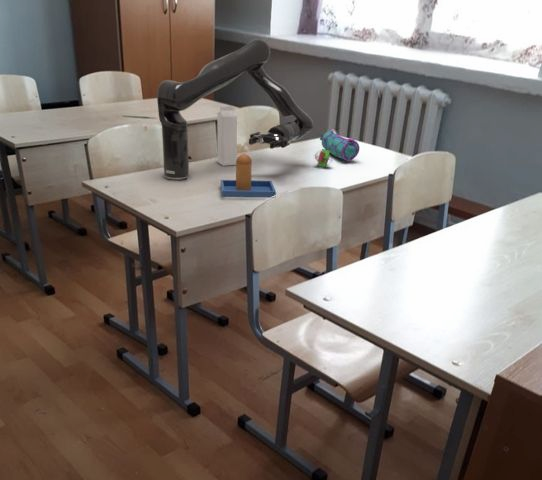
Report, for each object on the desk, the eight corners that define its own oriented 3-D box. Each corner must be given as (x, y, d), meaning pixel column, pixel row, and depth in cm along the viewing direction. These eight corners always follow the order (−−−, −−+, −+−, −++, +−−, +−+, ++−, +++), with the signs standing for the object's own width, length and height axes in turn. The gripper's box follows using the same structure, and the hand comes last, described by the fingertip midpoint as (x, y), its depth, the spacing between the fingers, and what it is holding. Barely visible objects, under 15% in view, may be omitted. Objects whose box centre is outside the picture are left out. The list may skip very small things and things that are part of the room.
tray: (220, 187, 217) (220, 179, 215) (271, 188, 219) (271, 180, 217) (222, 198, 206) (222, 190, 205) (275, 199, 208) (275, 191, 207)
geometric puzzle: (325, 156, 251) (319, 142, 245) (337, 160, 247) (332, 146, 241) (315, 169, 250) (309, 155, 243) (328, 173, 246) (322, 159, 240)
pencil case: (318, 150, 268) (320, 128, 263) (335, 149, 271) (337, 127, 266) (341, 163, 252) (344, 139, 247) (359, 161, 255) (362, 138, 250)
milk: (217, 162, 244) (216, 105, 232) (230, 160, 246) (231, 104, 235) (223, 166, 240) (222, 108, 228) (236, 164, 242) (237, 107, 230)
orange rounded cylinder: (235, 188, 214) (235, 152, 207) (250, 188, 215) (251, 152, 208) (236, 192, 210) (236, 156, 203) (251, 193, 210) (252, 156, 204)
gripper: (297, 148, 225) (277, 157, 212) (264, 142, 230) (243, 151, 218) (298, 127, 220) (278, 136, 208) (265, 122, 226) (243, 129, 214)
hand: (260, 143), depth 213 cm, fingers open, 8 cm apart
